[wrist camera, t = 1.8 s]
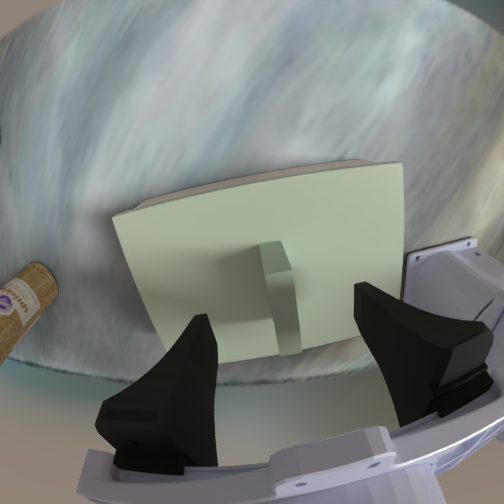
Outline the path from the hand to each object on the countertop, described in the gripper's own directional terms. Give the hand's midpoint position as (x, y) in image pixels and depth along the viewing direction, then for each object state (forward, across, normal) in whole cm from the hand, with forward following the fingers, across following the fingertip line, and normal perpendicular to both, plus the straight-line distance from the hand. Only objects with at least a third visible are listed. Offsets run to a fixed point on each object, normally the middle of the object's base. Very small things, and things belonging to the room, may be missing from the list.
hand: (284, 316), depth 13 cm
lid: (+5, 0, 0) cm, 5 cm away
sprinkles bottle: (+9, +22, -1) cm, 24 cm away
